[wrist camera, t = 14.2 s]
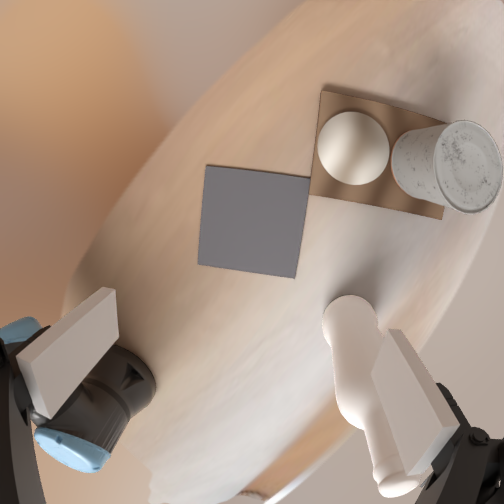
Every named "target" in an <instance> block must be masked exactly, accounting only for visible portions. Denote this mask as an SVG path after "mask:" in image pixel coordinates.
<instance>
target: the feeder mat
mask: <svg viewBox="0 0 504 504" xmlns="http://www.w3.org/2000/svg"><path fill="white" fill-rule="evenodd" d="M309 186H310V179H308V178H302V177H295V176H288V175H281V174H274V173H266V172H258V171H250V170H241V169H232V168H222V167H212V166H206V170H205V180H204V190H203V201H202V212H201V224H200V237H199V251H198V264H199V265H206V266H212V267H219V268H225V269H232V270H239V271H245V272H252V273H259V274H266V275H273V276H280V277H287V278H294V279H295V274H296V268H297V262H298V256H299V250H300V244H301V238H302V232H303V226H304V219H305V213H306V206H307V199H308V193H309Z"/></svg>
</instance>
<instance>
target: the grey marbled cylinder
mask: <svg viewBox="0 0 504 504" xmlns="http://www.w3.org/2000/svg"><path fill="white" fill-rule="evenodd" d="M392 170H393V174H394V176H395V179H396V181H397V183H398V184H399V186H400V187H401V188H402V189H403V190H404V191H405V192H406V193H407V194H409V195H410V196H412V197H415V198H418V199H424V200H427V201H430V202H433V203H436V204H439V205H442V206H445V207H448V208H451V209H454V210H456V211H458V212H461V213H463V214H470V215H474V214H477V213H481V212H483V211H484V210H486V209H487V208H488V207H489V206H490V205H491V204H492V203H493V202H494V200H495V199H496V197H497V196H498V193H499V190H500V188H501V183H502V177H503V166H502V160H501V155H500V152H499V149H498V147H497V145H496V143H495V141H494V139H493V138H492V136H491V135H490V134H489V132H488V131H487V130H485V129H484V128H483V127H482V126H481V125H479V124H477V123H475V122H472V121H468V120H460V121H456V122H453V123H448V124H443V125H438V126H433V127H428V128H423V129H417V130H411V131H409V132H407V133H405V134H404V135H403V136H401V137H400V138H399V140H398V141H397V142H396V144H395V147H394V149H393V153H392Z"/></svg>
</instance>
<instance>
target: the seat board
mask: <svg viewBox="0 0 504 504" xmlns="http://www.w3.org/2000/svg"><path fill="white" fill-rule="evenodd" d="M443 124H447V123H445V122H442V121H439V120H436V119H433V118H430V117H427V116H424V115H421V114H418V113H415V112H411V111H408V110H405V109H401V108H398V107H394V106H390V105H386V104H383V103H379V102H375V101H371V100H366V99H362V98H358V97H353V96H348V95H343V94H338V93H333V92H327V91H321V96H320V105H319V114H318V123H317V131H316V139H315V147H314V155H313V163H312V170H311V178H310V186H309V193H308V194H309V195H315V196H322V197H328V198H334V199H340V200H345V201H351V202H357V203H362V204H368V205H373V206H378V207H383V208H388V209H393V210H398V211H403V212H408V213H412V214H417V215H422V216H426V217H431V218H435V219H439V220H442V217H443V212H444V206H442V205H439V204H436V203H433V202H430V201H427V200H424V199H418V198H415V197H412V196H410V195H409V194H407V193H406V192H405V191H404V190H403V189H402V188H401V187H400V186H399V184H398V183H397V181H396V179H395V176H394V174H393V170H392V153H393V149H394V147H395V144H396V142H397V141H398V140H399V138H400V137H401V136H403V135H404V134H405V133H407V132H409V131H411V130H417V129H423V128H428V127H433V126H438V125H443Z"/></svg>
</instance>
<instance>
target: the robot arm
mask: <svg viewBox="0 0 504 504" xmlns="http://www.w3.org/2000/svg"><path fill="white" fill-rule="evenodd" d="M118 338H119V331H118V320H117V306H116V290H115V289H111V288H107V287H101V288H100V289H99V290H97V291H96V292H95V293H93V294H92V295H91V296H90V297H88V298H87V299H86V300H84V301H83V302H82V303H80V304H79V305H78V306H77V307H75V308H74V309H73V310H71V311H70V312H69V313H68V314H66V315H65V316H64V317H63V318H61V319H60V320H59V321H58V322H56V323H55V324H54V325H53V326H50V325H49V326H47V327H44V328H42V326H41V325H40V323H39V322H38V321H37V320H36V319H35V318H33V317H24V318H21V319H19V320H17V321H14V322H12V323H10V324H8V325H6V326H4V327H2V328H0V504H46V501H45V497H44V493H43V489H42V485H41V481H40V476H39V471H38V466H37V461H36V456H35V450H34V444H33V436H32V429H31V421H30V420H32V421H33V423H34V424H35V425H36V426H37V428H36V429H35V433H34V437H35V440H36V441H37V443H38V444H39V445H40V446H41V448H43V449H44V450H45V451H46V452H47V453H48V454H49V455H51V456H52V457H54V458H55V459H56V460H58V461H59V462H61V463H63V464H65V465H67V466H69V467H71V468H73V469H75V470H78V471H81V472H86V473H95V472H97V471H99V470H101V468H102V467H103V466H104V464H105V463H106V461H107V460H108V459H109V458H110V456H111V453H112V451H113V449H114V447H115V445H116V444H117V442H118V440H119V438H120V436H121V435H122V433H123V431H124V429H125V427H126V425H127V424H128V422H129V420H130V419H131V418H132V417H133V416H135V415H136V414H137V413H139V412H140V411H141V410H142V409H144V408H145V407H147V406H148V405H149V403H150V402H151V400H152V398H153V397H154V395H155V391H156V385H155V381H154V378H153V376H152V374H151V372H150V371H149V369H148V368H147V367H146V365H145V364H144V363H143V362H142V361H141V360H140V359H139V358H138V357H136V356H135V355H134V354H132V353H131V352H129V351H127V350H126V349H123V348H121V347H119V346H115V345H113V344H114V342H115V341H116V340H117V339H118ZM371 377H372V380H373V382H374V385H375V387H376V390H377V393H378V395H379V398H380V401H381V403H382V406H383V409H384V411H385V414H386V417H387V420H388V423H389V425H390V428H391V431H392V434H393V437H394V440H395V443H396V446H397V449H398V451H399V455H400V458H401V461H402V464H403V467H404V470H405V473H406V476H410V475H416V474H422V473H424V471H425V470H426V469H427V468H428V467H429V466H430V464H431V465H432V467H433V470H434V471H433V472H432V473H431V475H429V477H428V478H427V479H426V480H425V481H424V482H423V483H422V484H421V486H420V487H423V486H424V485H425V486H424V488H423V490H422V491H421V493H420V495H419V497H418V499H417V501H416V503H415V504H504V438H503V439H502V440H501V439H490V437H489V435H488V434H487V433H486V432H485V431H484V430H482V429H480V428H477V427H471V426H470V424H469V423H468V421H467V419H466V418H465V416H464V415H463V413H462V411H461V409H460V408H459V406H457V403H456V401H455V400H454V399H453V396H452V395H451V393H450V392H449V390H448V389H447V388H446V387H445V386H443V385H442V384H441V383H435V381H434V380H433V378H432V377H431V375H430V374H429V372H428V370H427V369H426V367H425V366H424V364H423V363H422V361H421V359H420V358H419V356H418V355H417V353H416V352H415V350H414V349H413V347H412V346H411V344H410V342H409V341H408V339H407V338H406V337H405V335H404V334H403V332H402V331H401V330H398V329H387V331H386V334H385V337H384V340H383V343H382V345H381V348H380V351H379V354H378V356H377V359H376V362H375V364H374V367H373V369H372V372H371ZM500 480H501V482H500V487H499V481H500Z"/></svg>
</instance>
